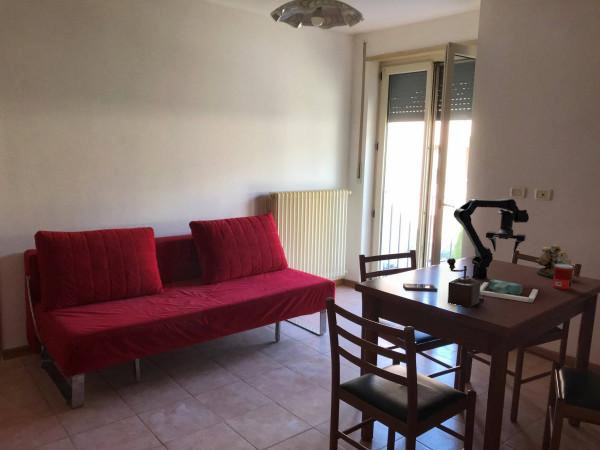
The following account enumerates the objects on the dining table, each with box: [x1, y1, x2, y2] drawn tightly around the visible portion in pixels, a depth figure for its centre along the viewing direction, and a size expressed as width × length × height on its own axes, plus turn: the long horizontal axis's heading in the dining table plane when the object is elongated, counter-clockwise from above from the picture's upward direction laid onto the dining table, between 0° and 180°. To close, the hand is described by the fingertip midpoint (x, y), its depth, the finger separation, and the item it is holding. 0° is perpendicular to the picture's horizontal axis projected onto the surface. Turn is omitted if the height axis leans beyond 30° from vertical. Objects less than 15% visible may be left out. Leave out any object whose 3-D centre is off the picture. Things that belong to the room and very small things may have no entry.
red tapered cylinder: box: [552, 264, 574, 291], centre depth 241 cm, size 8×8×11 cm
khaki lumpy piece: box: [535, 244, 572, 279], centre depth 263 cm, size 18×12×17 cm, turn 40°
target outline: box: [480, 281, 539, 304], centre depth 231 cm, size 24×18×2 cm
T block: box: [488, 279, 523, 296], centre depth 232 cm, size 14×12×4 cm
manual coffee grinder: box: [446, 257, 481, 308], centre depth 217 cm, size 16×11×18 cm
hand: (504, 252), depth 259 cm, fingers open, 9 cm apart
